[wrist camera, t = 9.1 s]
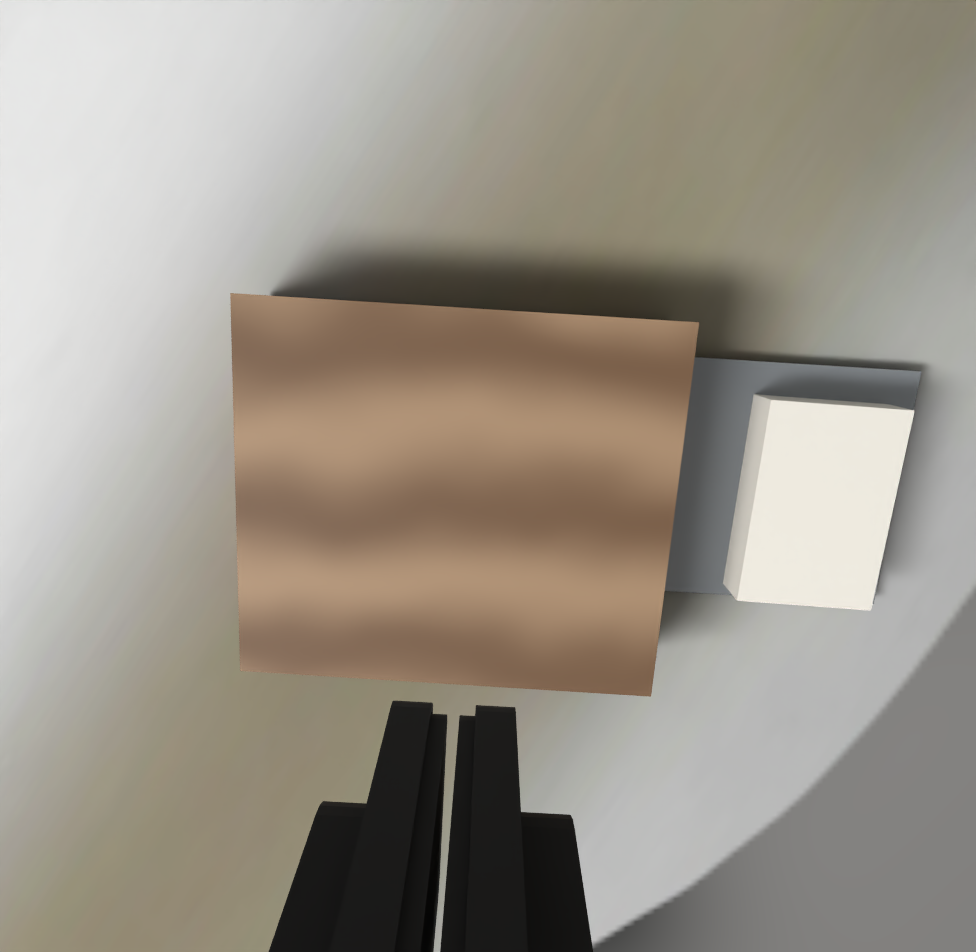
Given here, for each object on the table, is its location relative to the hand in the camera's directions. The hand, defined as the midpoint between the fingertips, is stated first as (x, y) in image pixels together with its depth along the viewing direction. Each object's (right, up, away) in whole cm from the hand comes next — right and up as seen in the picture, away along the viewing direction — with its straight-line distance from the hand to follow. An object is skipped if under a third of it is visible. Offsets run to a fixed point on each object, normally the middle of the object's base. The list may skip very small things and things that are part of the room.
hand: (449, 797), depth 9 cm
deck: (-1, +4, +23) cm, 23 cm away
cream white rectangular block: (+15, +3, +20) cm, 25 cm away
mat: (+14, +4, +22) cm, 27 cm away
